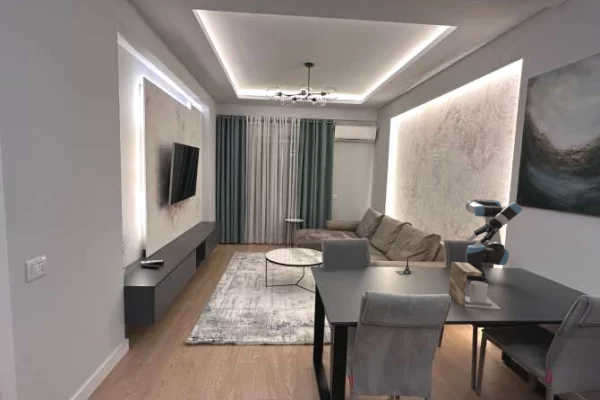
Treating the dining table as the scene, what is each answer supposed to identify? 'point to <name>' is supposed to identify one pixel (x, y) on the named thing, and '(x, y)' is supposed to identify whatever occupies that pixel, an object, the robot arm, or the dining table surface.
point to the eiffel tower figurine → (405, 270)
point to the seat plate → (488, 303)
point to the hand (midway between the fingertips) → (472, 243)
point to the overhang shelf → (460, 280)
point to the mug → (478, 291)
